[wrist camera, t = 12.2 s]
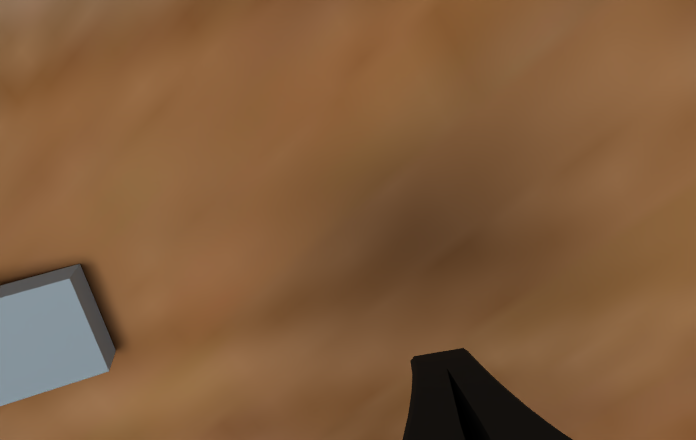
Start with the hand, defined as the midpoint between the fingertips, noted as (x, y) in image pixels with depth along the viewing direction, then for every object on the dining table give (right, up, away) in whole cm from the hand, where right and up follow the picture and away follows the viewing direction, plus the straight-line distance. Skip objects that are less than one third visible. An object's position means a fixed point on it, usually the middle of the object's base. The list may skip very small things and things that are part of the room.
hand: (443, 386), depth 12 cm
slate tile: (-14, 0, +10) cm, 17 cm away
